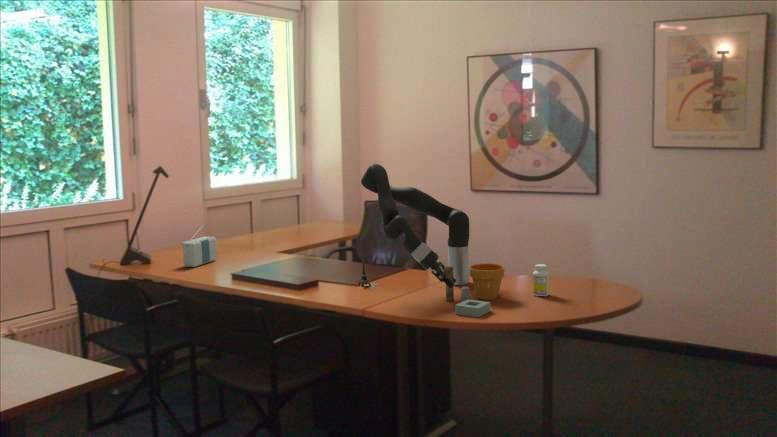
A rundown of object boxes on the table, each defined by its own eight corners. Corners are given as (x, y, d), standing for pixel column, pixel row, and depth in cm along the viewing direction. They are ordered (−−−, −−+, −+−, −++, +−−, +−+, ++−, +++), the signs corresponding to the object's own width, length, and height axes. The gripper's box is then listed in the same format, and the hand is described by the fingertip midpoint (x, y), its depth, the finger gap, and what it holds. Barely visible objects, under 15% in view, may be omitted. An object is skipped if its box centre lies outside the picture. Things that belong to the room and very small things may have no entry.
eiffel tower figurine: (370, 291, 329) (369, 261, 327) (349, 290, 332) (348, 261, 330) (380, 283, 343) (379, 255, 341) (359, 283, 346) (358, 254, 344)
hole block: (467, 307, 295) (467, 299, 295) (490, 311, 289) (490, 302, 289) (455, 313, 287) (455, 305, 286) (478, 317, 281) (478, 308, 281)
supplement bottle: (538, 292, 317) (538, 262, 315) (552, 294, 312) (552, 264, 311) (529, 295, 313) (529, 265, 311) (543, 298, 308) (543, 267, 306)
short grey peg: (464, 303, 302) (463, 286, 301) (471, 304, 300) (470, 287, 299) (460, 305, 300) (460, 288, 299) (467, 306, 298) (467, 289, 297)
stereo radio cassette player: (194, 268, 386) (192, 230, 384) (181, 267, 390) (179, 229, 387) (218, 260, 406) (216, 224, 403) (205, 259, 409) (203, 223, 406)
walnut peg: (448, 299, 310) (447, 266, 308) (455, 300, 308) (454, 266, 306) (444, 300, 307) (444, 267, 305) (451, 301, 305) (450, 268, 303)
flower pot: (503, 302, 303) (503, 270, 301) (468, 301, 306) (468, 270, 304) (504, 293, 317) (504, 263, 315) (471, 292, 319) (470, 263, 317)
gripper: (421, 258, 315) (449, 286, 314) (415, 265, 301) (444, 294, 300) (433, 246, 313) (462, 274, 312) (428, 252, 299) (457, 282, 298)
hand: (453, 284), depth 306 cm, fingers open, 6 cm apart
